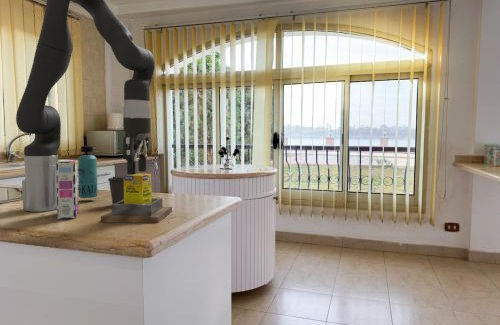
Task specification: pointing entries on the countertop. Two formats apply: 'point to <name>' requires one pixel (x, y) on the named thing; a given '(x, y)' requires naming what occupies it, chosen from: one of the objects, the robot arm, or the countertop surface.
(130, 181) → the supplement box
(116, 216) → the caddy
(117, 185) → the coffee cup
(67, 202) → the candy bar box
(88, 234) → the countertop surface
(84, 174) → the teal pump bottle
